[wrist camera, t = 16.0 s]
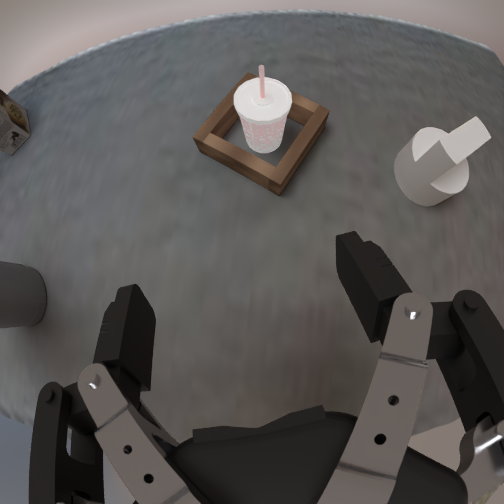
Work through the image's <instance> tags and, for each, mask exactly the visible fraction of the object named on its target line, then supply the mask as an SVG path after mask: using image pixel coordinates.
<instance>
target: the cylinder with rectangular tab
mask: <svg viewBox="0 0 504 504" xmlns="http://www.w3.org/2000/svg"><path fill="white" fill-rule="evenodd" d="M490 138H491V136H490V134H489V133H488V131H487V129H486V128H485V126H484V125H483V123H482V122H481V121H480V120H479V119H478V118H477V117H474V118H473V119H471V120H469V121H468V122H466V123H465V124H463V125H461V126H460V127H458V128H457V129H455V130H454V131H452V132H450V133H449V134H448V133H446V132H444V131H442V130H441V129H437V128H434V127H426V128H423V129H421V130H420V131H418V132H417V133H416V134H415V135H414V136H413V138H412V139H411V140H410V141H409V142H408V143H407V144H406V145H405V147H404V148H403V149H402V150H401V151H400V152H399V153H398V155H397V157H396V159H395V163H394V174H395V177H396V181H397V183H398V185H399V187H400V189H401V190H402V192H403V193H404V194H405V195H406V196H407V197H408V198H409V199H410V200H411V201H413V202H414V203H416V204H418V205H421V206H426V207H428V206H434V205H436V204H438V203H440V202H442V201H443V200H445V199H447V198H449V197H451V196H452V195H454V194H456V193H458V192H460V191H461V190H463V189H464V187H465V186H466V184H467V182H468V179H469V167H468V162H467V159H466V157H467V156H468V155H470V154H471V153H472V152H474V151H475V150H476V149H477V148H479V147H480V146H481V145H483V144H484V143H485V142H486V141H488V140H489V139H490Z"/></svg>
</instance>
